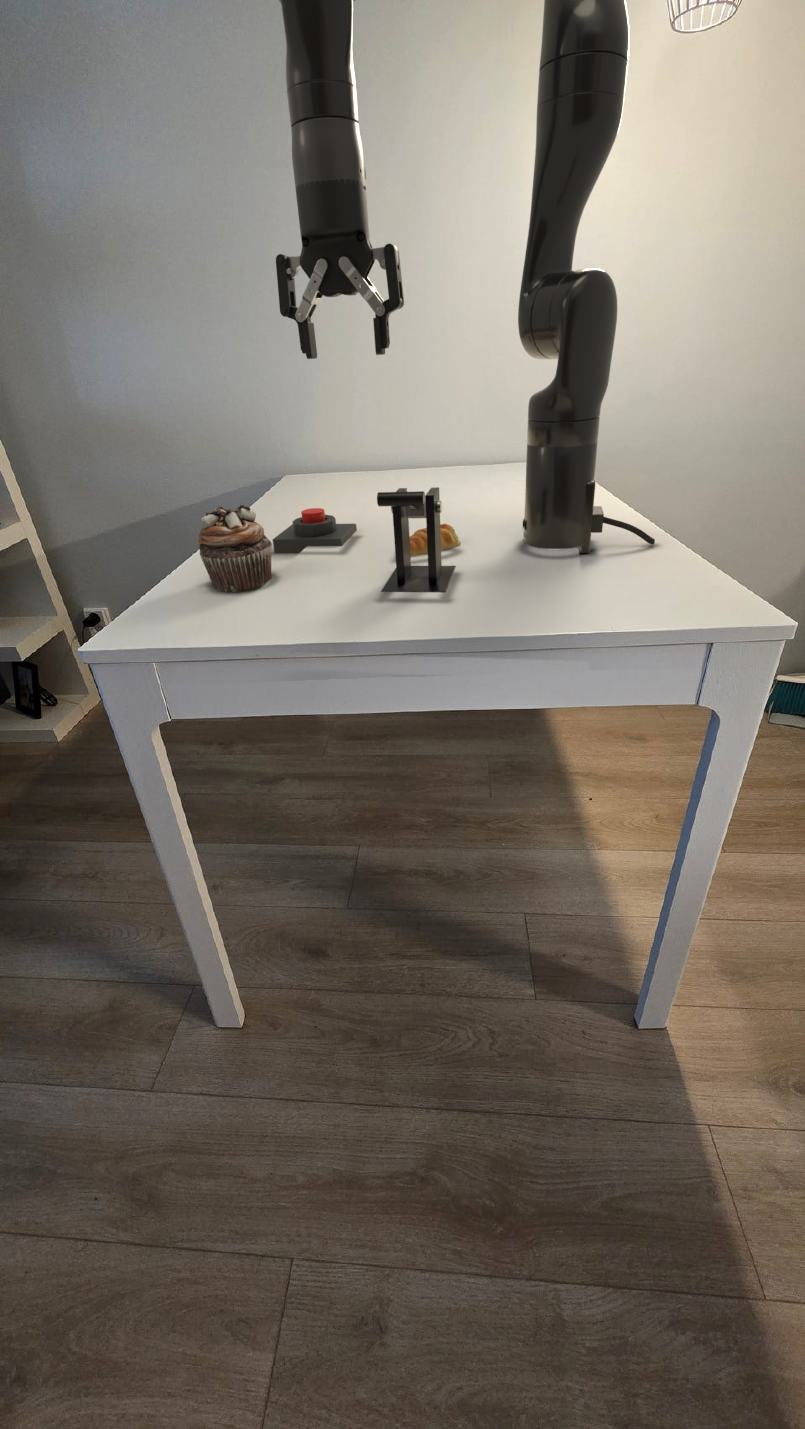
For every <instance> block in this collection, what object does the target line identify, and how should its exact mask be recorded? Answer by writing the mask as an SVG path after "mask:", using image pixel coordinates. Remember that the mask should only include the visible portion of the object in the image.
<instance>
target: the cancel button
mask: <svg viewBox="0 0 805 1429" xmlns="http://www.w3.org/2000/svg"><path fill="white" fill-rule="evenodd" d="M300 515H301V517H302V522H303V523H317V522H322V521H326V519H325V515H326V513H325V509H324V508H320V507H312V508H306V509H302V510H301V512H300Z"/></svg>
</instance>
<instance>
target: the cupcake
mask: <svg viewBox="0 0 805 1429" xmlns="http://www.w3.org/2000/svg"><path fill="white" fill-rule="evenodd" d="M256 518H257V512H255V511H254V510H252V509H251V508H250V506H247V505H244V504H240V505H239V506H238V507H237V508H236V509H231V508H229V509H226V508H224V507H223V506H218V507H216V508H214V509H213V510H212V511H211V512H210V511H209V512H206V513H205V515H204V516H203V517H201V518H200V524H201V527H202V528H201V529H200V532H199V534H198V539H197V545H199V547H198V548H199V556H200V558H201V561H202V563H203V565H204V567H205V569H206V572H207V574H208V577H209V579H210V581H211V584H212V586H213V588H214V589H215V590H217V591H219V592H222V593H244V592H250V591H254V590H258V589H261V588H262V587H264V586H265V585H266V584H267V583H269V582H270V581H271V580H272V557H273V556H272V555H273V542H272V541H271V540H270V539H269V538H268V537H267V536H266V535H265V530H264V527H263V526H262V525H261V524H260V523H258V522H257V521H256Z"/></svg>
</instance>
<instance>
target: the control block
mask: <svg viewBox="0 0 805 1429" xmlns="http://www.w3.org/2000/svg"><path fill="white" fill-rule="evenodd" d="M325 519H326V521H322V522H317V523H303V522H302V516H301V517H297V518H295V519H294V520H292V524H290V526H288V527H287V528H285V529H284V530H282V532H280V533H278V535H276V536H275V537H274V538H272V547H273V552H274V553H275V554H300V553H302V551H304V550H305V549H306V548H307V547H343V546H344V545H345V544H346V542H347V541H349V539H351V537H352V536H353V535H354V534H355V533H356V532H357V530H358V529H357V528H358V527H357V523H337V520H336V517H335V516H334V515H330V514H325Z"/></svg>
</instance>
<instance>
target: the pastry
mask: <svg viewBox="0 0 805 1429" xmlns="http://www.w3.org/2000/svg"><path fill="white" fill-rule="evenodd" d="M440 531H441V552H443V551H445V550H449V549H450V550H451V549H453V548H456V547H457V548H458V547H460V546H461V541H460V540H459V536H458V535H457V533H456V531H455V528H454V527H453V526H451V524H447V523H446V522H445V523H440ZM409 537H410V556H411V557H416V556H421V555H428V550H427V527H424V528H419V529H418V530H415V531H414V533H413V534H412V535H409Z"/></svg>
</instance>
